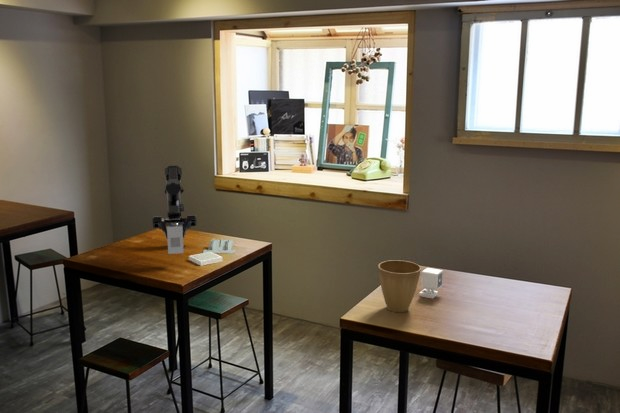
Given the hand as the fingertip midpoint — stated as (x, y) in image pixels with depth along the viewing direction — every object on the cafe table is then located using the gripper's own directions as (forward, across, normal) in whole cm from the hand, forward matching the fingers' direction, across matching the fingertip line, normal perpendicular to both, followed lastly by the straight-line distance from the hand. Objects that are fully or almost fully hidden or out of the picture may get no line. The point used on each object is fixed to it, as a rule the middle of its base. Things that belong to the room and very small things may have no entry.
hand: (175, 238), depth 264 cm
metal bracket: (-7, +21, +27) cm, 35 cm away
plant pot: (+56, +77, -38) cm, 103 cm away
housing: (+4, 0, +6) cm, 7 cm away
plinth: (+4, +13, +15) cm, 20 cm away
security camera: (+48, +94, -30) cm, 110 cm away
